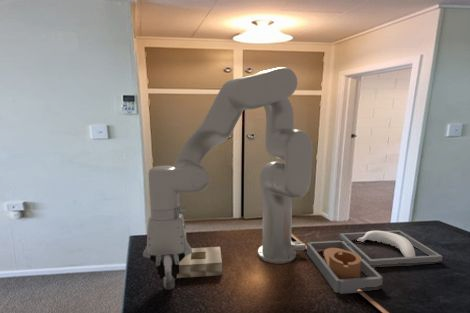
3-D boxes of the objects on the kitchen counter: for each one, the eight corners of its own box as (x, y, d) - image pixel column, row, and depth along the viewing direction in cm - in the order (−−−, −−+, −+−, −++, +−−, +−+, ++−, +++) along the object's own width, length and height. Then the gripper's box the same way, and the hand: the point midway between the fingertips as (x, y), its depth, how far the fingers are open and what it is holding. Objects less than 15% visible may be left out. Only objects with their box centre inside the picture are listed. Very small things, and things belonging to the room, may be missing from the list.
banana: (426, 263, 90) (381, 265, 89) (389, 239, 108) (352, 241, 107) (427, 248, 89) (381, 250, 88) (390, 227, 108) (352, 228, 107)
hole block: (220, 258, 95) (220, 246, 94) (222, 275, 85) (221, 262, 84) (177, 260, 93) (176, 249, 93) (174, 278, 83) (173, 265, 83)
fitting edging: (342, 249, 100) (342, 240, 99) (382, 290, 77) (383, 278, 76) (306, 251, 98) (306, 242, 98) (336, 294, 76) (337, 281, 75)
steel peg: (175, 282, 81) (173, 249, 79) (174, 289, 78) (172, 255, 76) (164, 283, 81) (162, 250, 79) (163, 290, 78) (161, 255, 76)
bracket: (363, 289, 78) (364, 265, 77) (331, 286, 79) (332, 263, 78) (347, 256, 96) (348, 236, 94) (321, 254, 97) (322, 235, 96)
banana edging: (399, 236, 110) (399, 230, 109) (441, 263, 90) (442, 256, 90) (339, 239, 107) (339, 233, 107) (369, 268, 87) (370, 261, 87)
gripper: (196, 206, 80) (199, 266, 83) (137, 209, 79) (141, 270, 82) (196, 216, 73) (198, 282, 76) (130, 219, 71) (135, 286, 74)
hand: (168, 275), depth 79 cm, fingers closed on steel peg, 3 cm apart
